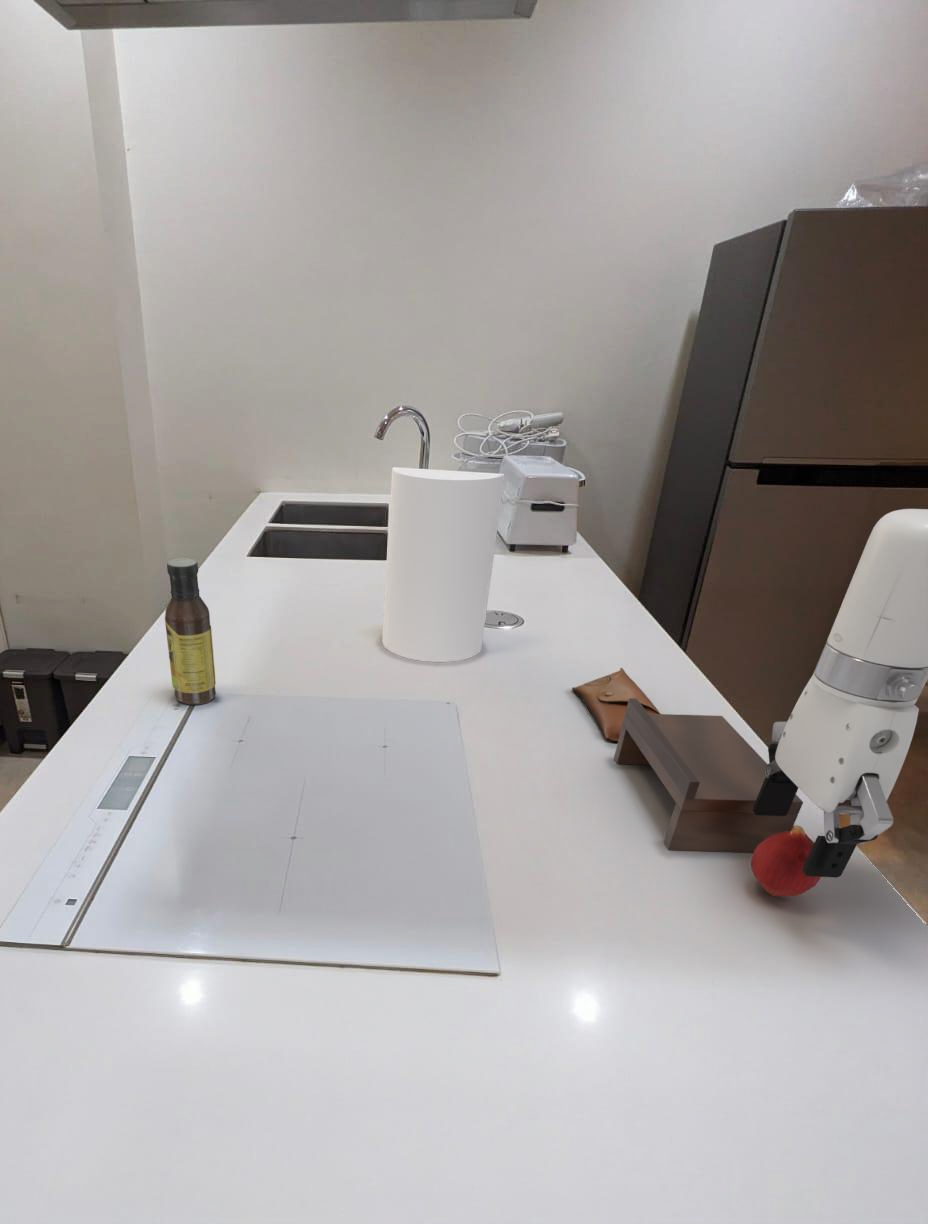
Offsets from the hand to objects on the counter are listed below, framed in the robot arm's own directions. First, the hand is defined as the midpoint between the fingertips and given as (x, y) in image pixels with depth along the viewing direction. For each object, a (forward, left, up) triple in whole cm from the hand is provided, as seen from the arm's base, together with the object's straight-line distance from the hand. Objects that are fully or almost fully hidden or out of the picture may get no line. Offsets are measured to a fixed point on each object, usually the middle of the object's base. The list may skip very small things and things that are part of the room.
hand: (793, 842), depth 70 cm
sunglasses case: (+4, -40, -7) cm, 41 cm away
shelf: (+2, -17, -6) cm, 18 cm away
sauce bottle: (+65, -42, -7) cm, 77 cm away
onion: (0, 0, -7) cm, 7 cm away
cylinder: (+28, -67, -7) cm, 73 cm away
